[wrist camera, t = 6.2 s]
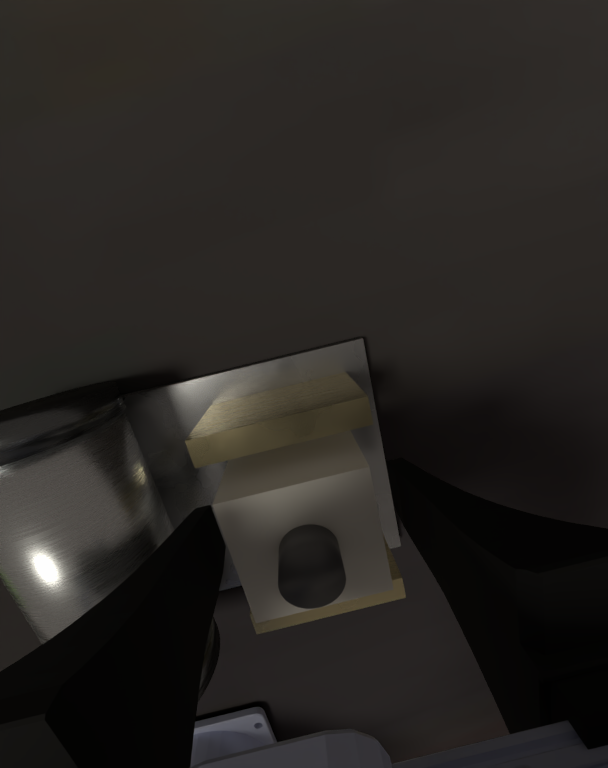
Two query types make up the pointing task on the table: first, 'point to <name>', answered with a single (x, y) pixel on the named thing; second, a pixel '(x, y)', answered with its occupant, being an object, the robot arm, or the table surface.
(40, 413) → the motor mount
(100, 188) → the table surface
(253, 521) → the light grey block
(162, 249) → the table surface
